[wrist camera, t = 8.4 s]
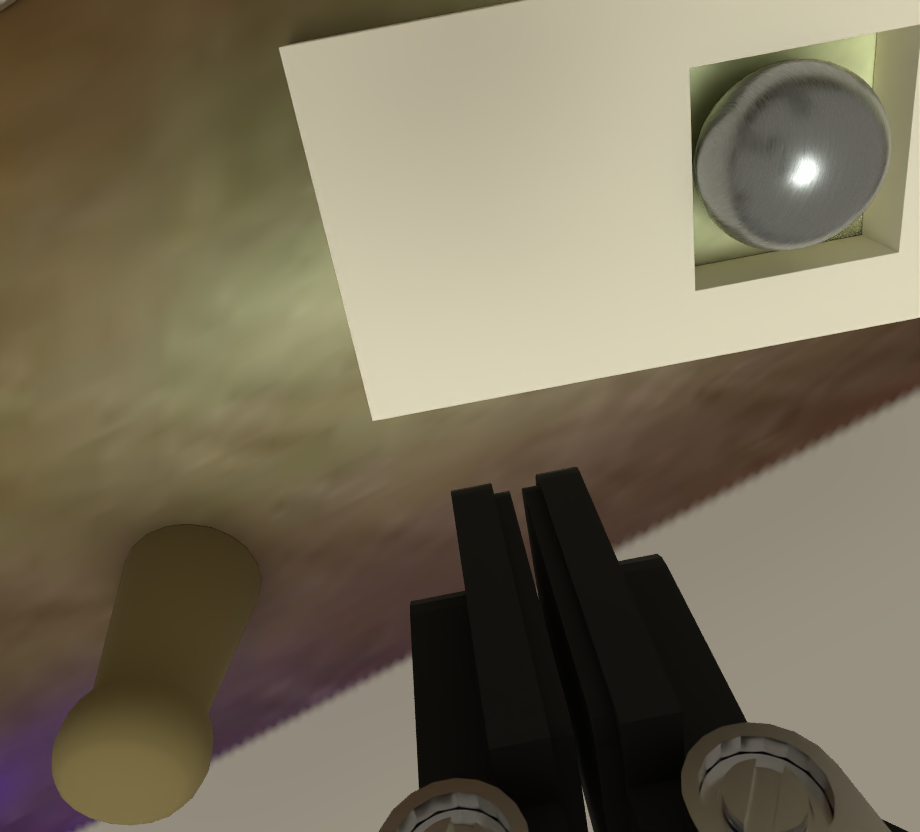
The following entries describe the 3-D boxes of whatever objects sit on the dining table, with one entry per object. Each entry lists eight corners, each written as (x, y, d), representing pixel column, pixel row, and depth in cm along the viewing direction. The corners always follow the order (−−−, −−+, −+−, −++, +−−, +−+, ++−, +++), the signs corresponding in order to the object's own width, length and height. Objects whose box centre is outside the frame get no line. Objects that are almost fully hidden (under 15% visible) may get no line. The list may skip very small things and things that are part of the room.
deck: (287, 44, 26) (278, 47, 23) (945, -82, 26) (997, -90, 23) (373, 392, 32) (372, 421, 30) (904, 291, 32) (943, 312, 29)
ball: (791, 38, 21) (958, 57, 23) (671, 61, 27) (814, 75, 28) (755, 260, 23) (912, 262, 25) (650, 239, 29) (785, 242, 30)
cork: (277, 545, 35) (235, 752, 25) (241, 642, 37) (190, 865, 28) (139, 508, 33) (38, 713, 24) (111, 612, 36) (8, 836, 26)
